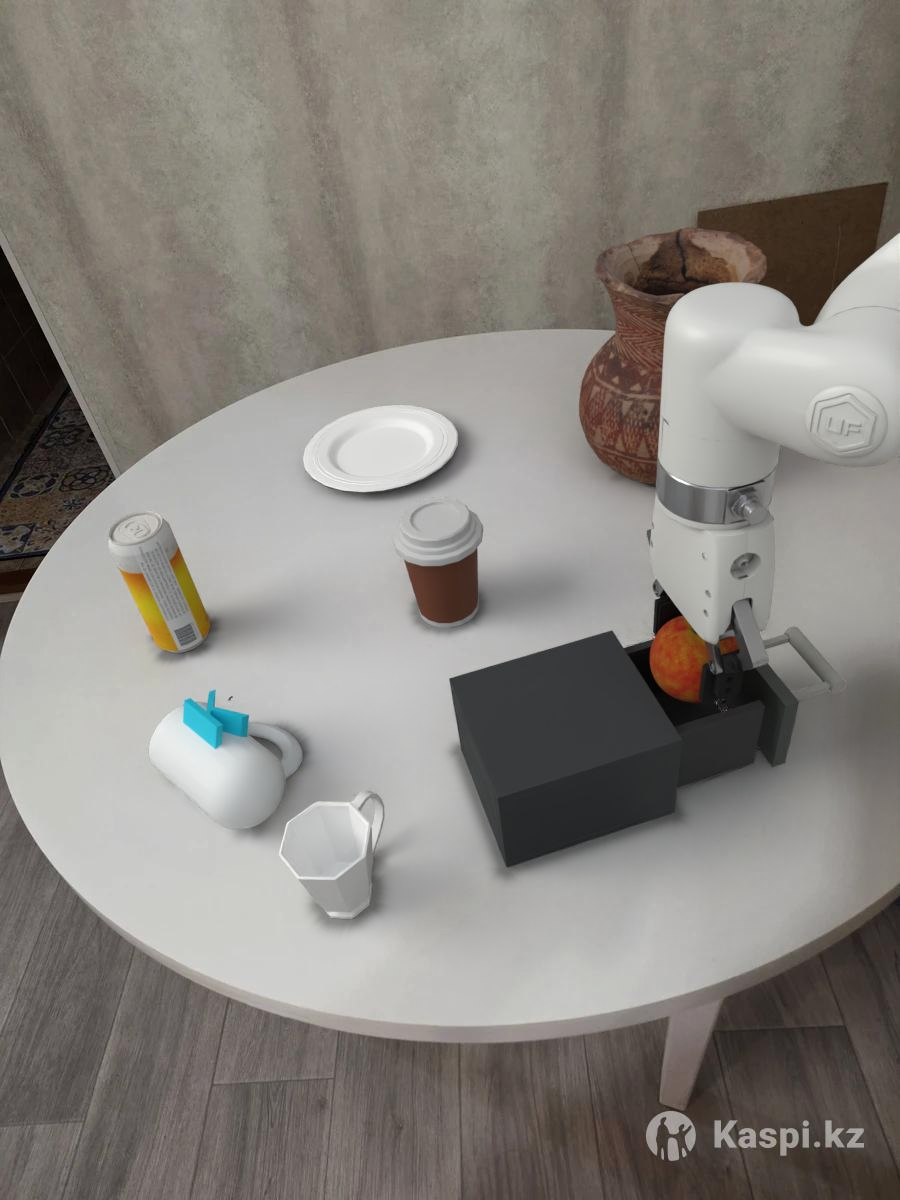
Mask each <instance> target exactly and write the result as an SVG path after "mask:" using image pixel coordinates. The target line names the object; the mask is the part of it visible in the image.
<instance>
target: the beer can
mask: <svg viewBox="0 0 900 1200" xmlns="http://www.w3.org/2000/svg"><path fill="white" fill-rule="evenodd" d="M107 537H108V542H107V543H108V544H107V548H108V549H109V551H110V554H111V556H112V557H113V559H114V562H115V564H116V567H117V568H118V570H119V572H120V574H121V576H122V578H123V581H124V582H125V585H126V586H127V588H128V590H129V592H130V595H131V596H132V598H133V601H134V602H135V603H134V604H135V605H136V607H137V609H138V611H139V613H140V614H141V617H142V619H143V621H144V623H145V625H146V627H147V629H148V631H149V633H150V635H151V637H152V639H153V641H154V644H155V645H156V646H157V648H159V649H161V650H164V651H167V652H169V653H173V654H181V653H185V652H189V651H192V650H194V649H196V648H197V647H199V646H200V645H201V644H202V643H203V642H204V641H205V639H206V638H207V636H208V633H209V632H210V629H211V620H210V618H209V616H208V613H207V611H206V609H205V606H204V603H203V602H202V599H201V597H200V594H199V591H198V590H197V586H196V584H195V582H194V580H193V577H192V575H191V573H190V570H189V568H188V565H187V564H186V563H187V562H186V560H185V558H184V556H183V554H182V551H181V549H180V547H179V544H178V542H177V539H176V537H175V534H174V532H173V529H172V527H171V525H170V523H169V522H168V521H167V520H166V519H164V518H163V517H162V515H161V514H160V513H158V512H156V511H153V510H139V511H134V512H131V513H128V514H125V515H124V516H122V517H120V518H118V519H117V520H116V521H114V522H113V524H112V525H111V526H110V527H109V529H108V531H107Z"/></svg>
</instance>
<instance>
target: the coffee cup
mask: <svg viewBox="0 0 900 1200" xmlns="http://www.w3.org/2000/svg"><path fill="white" fill-rule="evenodd" d="M391 535H392V536H391V542H392V545H393V548H394V551H395V554H396V555H397V556H398V557H400V558H402V559H403V561H404V564H405V568H406V571H407V574H408V578H409V581H410V584H411V587H412V591H413V594H414V597H415V601H416V604H417V608H418V612H419V615H420V617H421V620H423V621H424V622H426V624H428V625H430V626H433V627H436V628H441V629H442V628H443V629H445V628H446V629H447V628H448V629H449V628H455V627H458V626H462V625H464V624H465V623H468V622H469V621H471V620H473V618H474V617H475V615H476V614H477V613H478V611H479V604H480V600H479V560H478V554H479V553H478V548H479V546H480V545H481V544H482V542H483V536H484V525H483V523H482V521H481V520H480V517H479V516H478V515H477V513H475V512H473V511H472V510H470V509H469V507H468V505H467V504H465V503H463V502H462V501H460V500H459V499H457V498H451V497H448V496H433V497H432V496H431V497H428V498H425V499H420V500H419V501H416V502H415V503H413V504H411V505H409V506H408V507H407V508H406V509H405V510H404V511H403V513H401V516H400V519H399V520H398V522H397V523H396V524H395V525H394V528H393V532H392V534H391Z"/></svg>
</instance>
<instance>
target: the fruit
mask: <svg viewBox="0 0 900 1200" xmlns="http://www.w3.org/2000/svg"><path fill="white" fill-rule="evenodd" d="M653 639H654V640H653V643H652V646H651V650H650V667H651V671H652V674H653V676H654V679H655V680H656V682H657V684H658V685H659V686H660V688H661V689H662V690H663V691H664V692H666V693H667V694H668V695H670V696H672V697H673V698H676V699H678V700H681V701H685V702H690V703H702V702H701V701H700V699H699V692H700V684H701V675H702V667H703V665H704V664H705V663H708V658H707V652H706V646H705V640H703V639H702V638H701V637H700V636H699V635H698V634H697V633H696V631H695V630H694V629H693V628H692V626H691V625H690V624H689V622H688V621H687V620H686V619H685V617H684V616H679V617H677V618H674V619H672V620H670V621H669V622H667V623H666V624H665V625H663V626H662V627H661V629H660V630H659V631H658V633H657V634H656V636H655V635H654V638H653ZM719 646H720V652H721V655H722V654H725V653H728V652H732V651H735V647H734V641H733V637H731V638H728V639H724V640H721V641H719Z"/></svg>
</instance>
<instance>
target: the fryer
mask: <svg viewBox="0 0 900 1200" xmlns="http://www.w3.org/2000/svg"><path fill="white" fill-rule="evenodd" d="M624 648H625V647H624V646H623V645H622V643H621V642H620V640H619V638H618V637H617V635H616V634H615V632H614V631H613V629H611V630H609V631H605V632H601V633H598V634H595V635H591V636H587V637H583V638H581V639H578V640H574V641H571V642H568V643H564V644H561V645H557V646H554V647H551V648H547V649H543V650H541V651H537V652H533V653H531V654H527V655H524V656H520V657H517V658H515V659H510V660H506V661H504V662H503V661H502V662H500V663H496V664H494V665H493V664H492V665H490V666H487V667H483V668H480V669H477V670H472V671H470V672H466V673H463V674H460V675H456V676H453V677H449V679H448V681H449V685H450V686H449V687H450V692H451V699H452V704H453V709H454V715H455V721H456V722H455V723H456V727H457V734H458V740H459V744H460V750H461V753H462V757H463V758H464V761H465V763H466V766H467V768H468V771H469V774H470V777H471V779H472V781H473V784H474V786H475V789H476V792H477V795H478V797H479V800H480V802H481V805H482V808H483V810H484V813H485V815H486V818H487V821H488V823H489V826H490V829H491V831H492V833H493V837H494V839H495V842H496V844H497V846H498V849H499V851H500V854H501V858H502V859H503V863H504V865H505V867H506V868H511V867H514V866H517V865H519V864H523V863H526V862H528V861H529V862H530V861H531V860H534V859H537V858H541V857H543V856H546V855H550V854H552V853H553V854H554V853H555V852H559V851H562V850H565V849H568V848H571V847H574V846H578V845H580V844H583V843H585V842H590V841H592V840H595V839H598V838H602V837H604V836H607V835H611V834H614V833H616V832H619V831H624V830H626V829H629V828H632V827H634V826H638V825H641V824H643V823H646V822H650V821H653V820H656V819H658V818H659V819H660V818H661V817H665V816H668V815H671V814H674V813H675V812H676V806H677V805H676V804H677V794H678V788H677V785H678V776H679V766H680V756H681V747H682V738H681V737H680V735H679V733H678V732H677V730H676V729H675V727H674V726H673V724H672V723H671V721H670V719H669V718H668V716H667V715H666V713H665V712H664V710H663V708H662V707H661V705H660V704H659V702H658V701H657V699H656V698H655V696H654V694H653V693H652V691H651V690H650V688H649V687H648V685H647V684H646V682H645V680H644V679H643V677H642V676H641V674H640V673H639V671H638V670H637V668H636V666H635V665H634V663H633V662H632V660H631V659H630V657H629V656H628V654H627V652H626V651H625V649H624Z"/></svg>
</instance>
